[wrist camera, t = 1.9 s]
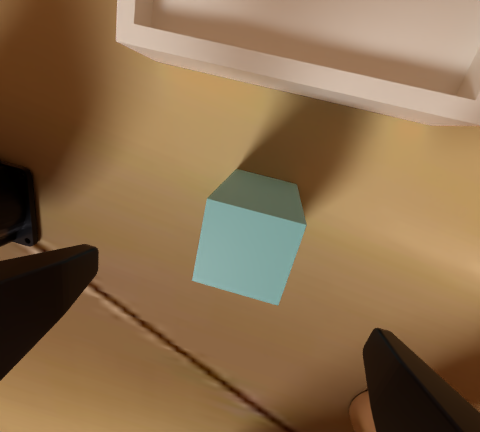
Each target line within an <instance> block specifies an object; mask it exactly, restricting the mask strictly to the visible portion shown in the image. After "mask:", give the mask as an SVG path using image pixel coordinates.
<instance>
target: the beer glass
mask: <svg viewBox="0 0 480 432" xmlns="http://www.w3.org/2000/svg"><path fill="white" fill-rule="evenodd" d="M349 417H350V420H351V423H352V426H353V428H354V431H355V432H376V429H375V425H374V421H373V417H372V412H371V407H370V401H369V395H368V390H367V391H365V392H363V393H361V394H359V395H358V396H357V397H356V398H355V399H354V400H353V401H352V402H351V404H350V407H349Z"/></svg>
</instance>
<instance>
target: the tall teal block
mask: <svg viewBox="0 0 480 432" xmlns="http://www.w3.org/2000/svg"><path fill="white" fill-rule="evenodd" d="M305 228H306V220H305V216H304V212H303V208H302V204H301V200H300V195H299V191H298V187H297V184H294V183H290V182H286V181H282V180H279V179H275V178H271V177H267V176H263V175H259V174H255V173H251V172H247V171H243V170H239V169H236V170H235V171H234V172H233V173H232V174H231V175H230V176H229V177H228V178H227V179H226V180H225V181H224V182H223V183H222V184H221V185H220V186H219V187H218V188H217V189H216V190H215V191H214V192H213V193H212V194H211V195H210V196H209V197H208V198H207V202H206V207H205V213H204V218H203V224H202V229H201V235H200V240H199V246H198V251H197V257H196V262H195V267H194V273H193V278H192V281H195V282H198V283H202V284H205V285H209V286H212V287H216V288H219V289H222V290H226V291H229V292H233V293H236V294H240V295H243V296H247V297H250V298H254V299H257V300H261V301H264V302H267V303H271V304H274V305H279V302H280V299H281V296H282V293H283V290H284V288H285V285H286V282H287V279H288V276H289V273H290V271H291V268H292V265H293V262H294V259H295V256H296V254H297V251H298V248H299V245H300V242H301V239H302V237H303V234H304V231H305Z"/></svg>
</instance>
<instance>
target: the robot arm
mask: <svg viewBox="0 0 480 432" xmlns="http://www.w3.org/2000/svg"><path fill="white" fill-rule="evenodd" d="M23 174H24V175H23ZM10 242H15V243H19V244H22V245H26V246H33V245H35V244H37V242H38V238H37V227H36V215H35V203H34V191H33V180H32V173H31V172H30V170H29V169H27V168H25V167H21V166H17V165H14V164H10V163H6V162H3V161H0V247H1V246H3V245H6V244H8V243H10ZM98 254H99V252H98V249H97V248H96V247H94V246H91V245H87V244H82V245H77V246H72V247H67V248H62V249H57V250H52V251H47V252H43V253H38V254H33V255H28V256H23V257H18V258H13V259H8V260H3V261H0V381H1V380H2V379H3V378H4V377H5V376H6V374H7V373H8V372H9V371H10V370H11V369H12V368H13V367H14V366H15V365H16V364H17V363H18V362H19V361H20V360H21V359H22V358H23V357H24V356H25V355H26V354H27V353H28V352H29V351H30V350H31V349H32V348H33V347H34V346H35V344H36V343H37V342H38V341H39V340H40V339H41V338H42V337H43V336H44V335H45V334H46V333H47V332H48V331H49V330H50V329H51V328H52V327H53V326H54V325H55V324H56V323H57V322H58V321H59V320H60V318H61V317H62V316H63V315H64V314H65V313H66V312H67V311H68V309H69V308H70V307H71V306H72V304H73V303H74V302H75V301H76V299H77V298H78V297H79V296H80V294H81V293H82V292H83V291H84V289H85V288H86V287H87V286H88V284H89V283H90V282H91V281H92V279H93V278H94V277H95V276H96V274H97V271H98ZM363 359H364V366H365V373H366V381H367V388H368V395H369V401H370V407H371V412H372V417H373V421H374V425H375V429H376V432H480V412H478V411H477V410H476V409H475V408H474V407H473V406H472V405H471V404H470V403H469V402H467V401H466V400H465V399H464V398H463V397H462V396H461V395H460V394H459V393H458V392H456V391H455V390H454V389H453V388H452V387H451V386H450V385H449V384H448V383H447V382H446V381H444V380H443V379H442V378H441V377H440V376H439V375H438V374H437V373H436V372H435V371H433V370H432V369H431V368H430V367H429V366H428V365H427V364H426V363H425V362H424V361H422V360H421V359H420V358H419V357H418V356H417V355H416V354H415V353H414V352H413V351H412V350H410V349H409V348H408V347H407V346H406V345H405V344H404V343H403V342H402V341H401V340H399V339H398V338H397V337H396V336H395V335H394V334H393V333H392V332H390V331H388V330H384V329H381V328H375V329H374V330H373V331H372V333H371V334H370V336H369V338H368V340H367V342H366V343H365V345H364V348H363Z"/></svg>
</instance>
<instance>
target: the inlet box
mask: <svg viewBox="0 0 480 432" xmlns="http://www.w3.org/2000/svg"><path fill="white" fill-rule="evenodd" d="M116 42H118V43H120V44H122V45H124V46H126V47H128V48H130V49H132V50H134V51H136V52H138V53H140V54H142V55H144V56H146V57H149V58H151V59H153V60H155V61H157V62H160V63H165V64H169V65H173V66H178V67H182V68H186V69H191V70H195V71H199V72H203V73H208V74H212V75H216V76H221V77H225V78H229V79H233V80H238V81H242V82H246V83H251V84H255V85H259V86H263V87H268V88H272V89H276V90H281V91H285V92H289V93H294V94H298V95H302V96H306V97H311V98H315V99H319V100H324V101H328V102H332V103H336V104H341V105H345V106H349V107H354V108H358V109H362V110H367V111H371V112H375V113H379V114H384V115H388V116H392V117H397V118H401V119H405V120H409V121H414V122H418V123H422V124H427V125H434V126H480V0H117V22H116Z"/></svg>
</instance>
